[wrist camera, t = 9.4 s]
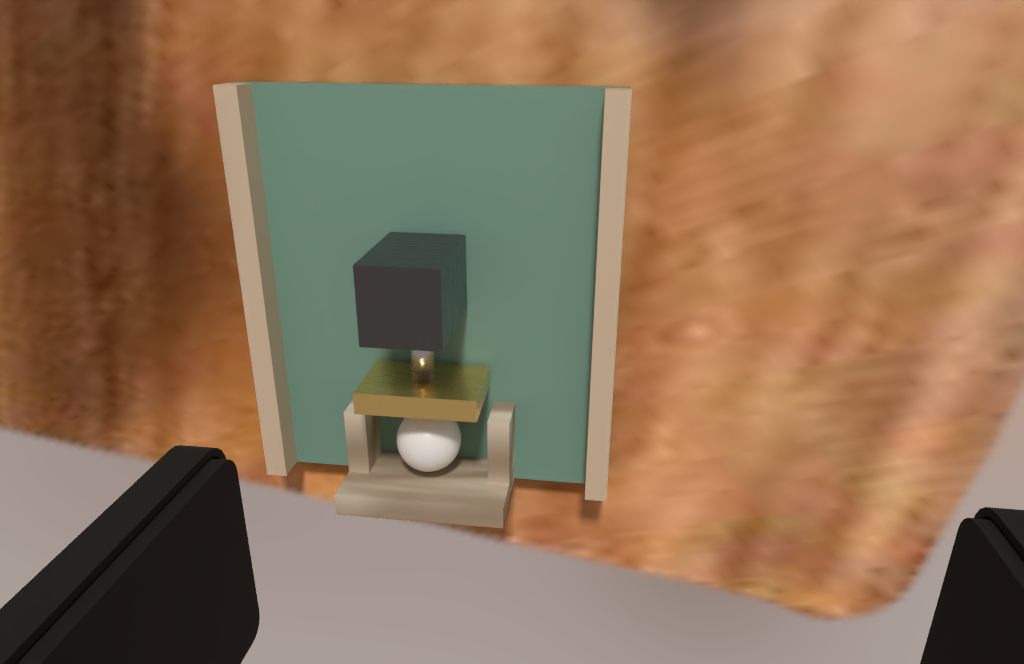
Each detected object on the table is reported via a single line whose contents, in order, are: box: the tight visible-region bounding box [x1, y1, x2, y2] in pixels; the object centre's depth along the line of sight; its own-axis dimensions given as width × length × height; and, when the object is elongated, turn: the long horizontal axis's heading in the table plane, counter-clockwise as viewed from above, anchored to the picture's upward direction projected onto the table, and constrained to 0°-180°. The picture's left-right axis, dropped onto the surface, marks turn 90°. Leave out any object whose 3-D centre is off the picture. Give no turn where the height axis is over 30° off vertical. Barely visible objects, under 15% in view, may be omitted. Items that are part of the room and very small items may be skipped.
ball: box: [397, 418, 461, 472], centre depth 41 cm, size 4×4×4 cm
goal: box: [334, 400, 515, 528], centre depth 41 cm, size 5×9×5 cm, turn 90°
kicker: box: [353, 232, 490, 422], centre depth 37 cm, size 9×6×6 cm
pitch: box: [213, 81, 632, 501], centre depth 40 cm, size 22×20×3 cm
